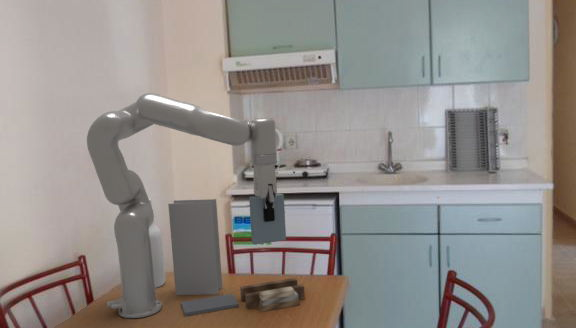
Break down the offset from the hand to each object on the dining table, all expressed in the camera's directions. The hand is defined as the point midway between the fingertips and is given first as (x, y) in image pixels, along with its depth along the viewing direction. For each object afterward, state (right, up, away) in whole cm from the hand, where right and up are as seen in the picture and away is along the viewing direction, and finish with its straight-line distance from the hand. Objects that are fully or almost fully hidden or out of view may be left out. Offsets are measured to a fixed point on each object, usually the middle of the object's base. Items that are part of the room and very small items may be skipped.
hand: (267, 219), depth 157 cm
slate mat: (-18, -26, 0) cm, 32 cm away
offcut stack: (+3, -25, -3) cm, 26 cm away
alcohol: (-40, -25, +22) cm, 52 cm away
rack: (+1, -25, +3) cm, 25 cm away
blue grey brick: (0, -7, +1) cm, 7 cm away
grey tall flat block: (-23, -25, +13) cm, 36 cm away
